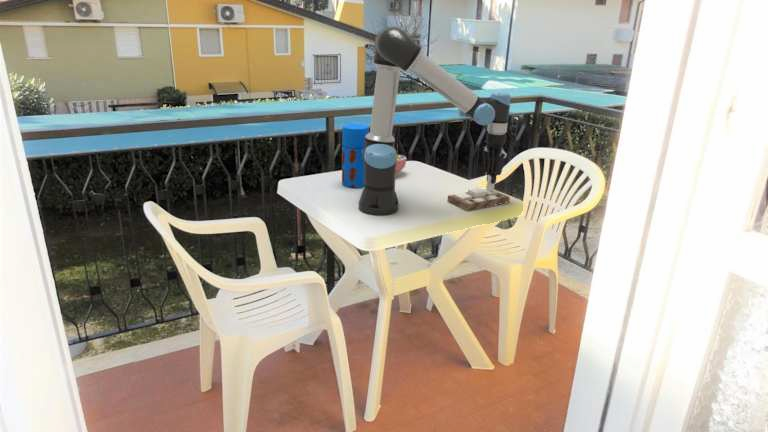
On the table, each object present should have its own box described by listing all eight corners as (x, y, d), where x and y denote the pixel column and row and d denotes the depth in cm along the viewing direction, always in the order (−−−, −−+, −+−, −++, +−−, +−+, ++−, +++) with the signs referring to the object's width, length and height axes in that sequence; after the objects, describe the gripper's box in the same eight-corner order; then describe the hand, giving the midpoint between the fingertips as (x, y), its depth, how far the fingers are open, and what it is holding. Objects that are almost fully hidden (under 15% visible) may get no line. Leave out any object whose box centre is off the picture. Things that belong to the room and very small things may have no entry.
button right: (488, 199, 212) (489, 193, 211) (480, 195, 216) (481, 189, 215) (498, 197, 215) (498, 191, 214) (489, 193, 219) (490, 188, 218)
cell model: (410, 178, 238) (412, 154, 234) (368, 180, 233) (368, 155, 229) (399, 168, 253) (400, 145, 249) (358, 170, 248) (359, 146, 244)
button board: (466, 211, 201) (467, 204, 200) (447, 201, 210) (447, 194, 209) (509, 202, 212) (510, 196, 211) (488, 194, 221) (489, 187, 220)
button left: (461, 204, 205) (462, 198, 204) (453, 200, 209) (454, 194, 208) (471, 202, 208) (472, 196, 207) (463, 198, 212) (464, 192, 211)
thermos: (364, 189, 221) (365, 130, 212) (339, 187, 222) (339, 128, 213) (369, 182, 231) (370, 125, 222) (345, 180, 232) (345, 123, 223)
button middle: (475, 199, 208) (476, 193, 208) (467, 195, 212) (468, 189, 212) (485, 197, 211) (486, 191, 210) (477, 193, 215) (477, 187, 214)
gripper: (515, 135, 203) (508, 193, 211) (492, 128, 213) (486, 184, 222) (501, 136, 199) (494, 196, 208) (478, 130, 209) (472, 186, 218)
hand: (490, 190), depth 215 cm, fingers closed
